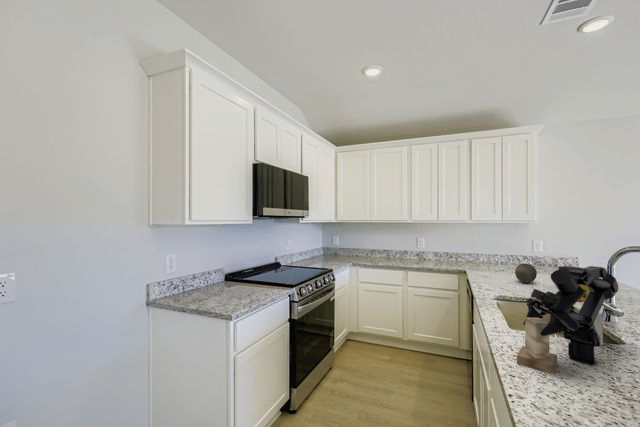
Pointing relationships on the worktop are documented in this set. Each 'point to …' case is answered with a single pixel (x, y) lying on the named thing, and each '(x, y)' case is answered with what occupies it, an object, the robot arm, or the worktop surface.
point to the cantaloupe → (525, 273)
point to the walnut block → (537, 361)
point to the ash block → (536, 338)
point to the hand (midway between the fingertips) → (532, 329)
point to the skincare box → (599, 327)
